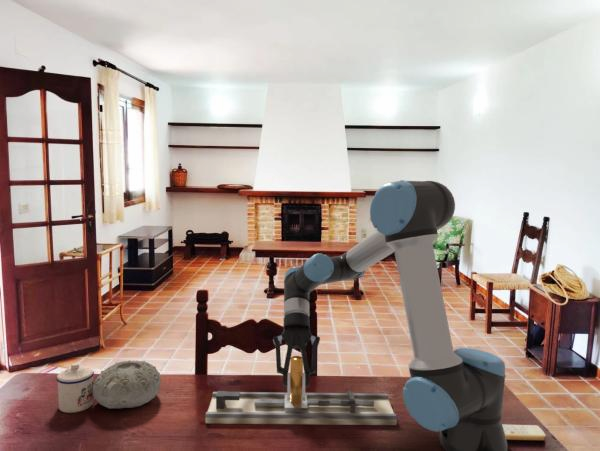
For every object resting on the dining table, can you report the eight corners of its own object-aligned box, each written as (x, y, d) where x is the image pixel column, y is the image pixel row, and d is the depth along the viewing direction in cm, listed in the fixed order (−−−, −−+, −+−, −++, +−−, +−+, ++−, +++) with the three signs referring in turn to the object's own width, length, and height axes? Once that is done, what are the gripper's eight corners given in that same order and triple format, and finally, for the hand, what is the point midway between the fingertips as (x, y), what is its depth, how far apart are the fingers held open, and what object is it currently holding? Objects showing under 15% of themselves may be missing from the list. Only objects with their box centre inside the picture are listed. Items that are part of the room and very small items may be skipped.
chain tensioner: (371, 399, 130) (373, 354, 129) (375, 412, 123) (378, 364, 122) (255, 398, 130) (256, 352, 128) (253, 411, 123) (254, 363, 121)
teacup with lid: (82, 415, 123) (81, 372, 121) (50, 412, 124) (48, 370, 122) (106, 393, 134) (105, 354, 133) (77, 390, 136) (75, 352, 134)
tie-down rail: (386, 401, 133) (387, 385, 132) (396, 425, 121) (397, 406, 121) (213, 400, 132) (213, 383, 131) (205, 423, 120) (205, 404, 119)
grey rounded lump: (150, 418, 122) (149, 382, 121) (81, 417, 122) (79, 380, 120) (168, 386, 140) (168, 354, 138) (108, 385, 139) (107, 353, 138)
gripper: (323, 323, 140) (326, 404, 125) (268, 322, 139) (265, 403, 125) (325, 311, 134) (328, 394, 119) (268, 310, 133) (264, 394, 119)
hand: (296, 399), depth 122 cm, fingers closed on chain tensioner, 3 cm apart
